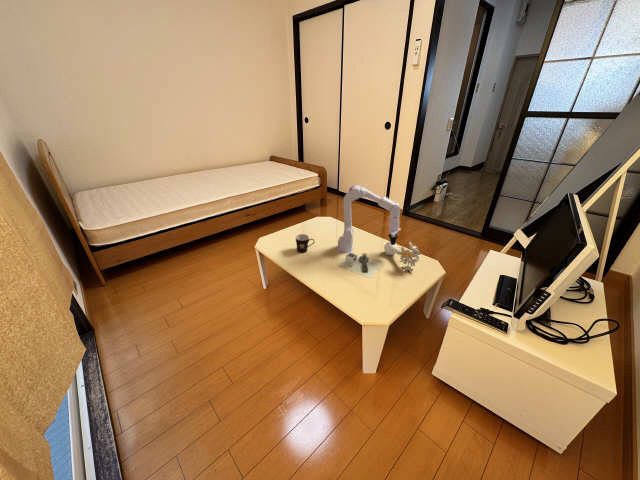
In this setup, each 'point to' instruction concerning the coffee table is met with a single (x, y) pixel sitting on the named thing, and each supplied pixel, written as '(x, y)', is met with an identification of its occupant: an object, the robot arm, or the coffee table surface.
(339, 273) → the coffee table surface
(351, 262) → the socket
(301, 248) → the coffee mug
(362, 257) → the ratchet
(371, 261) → the mat
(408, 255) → the flower vase
